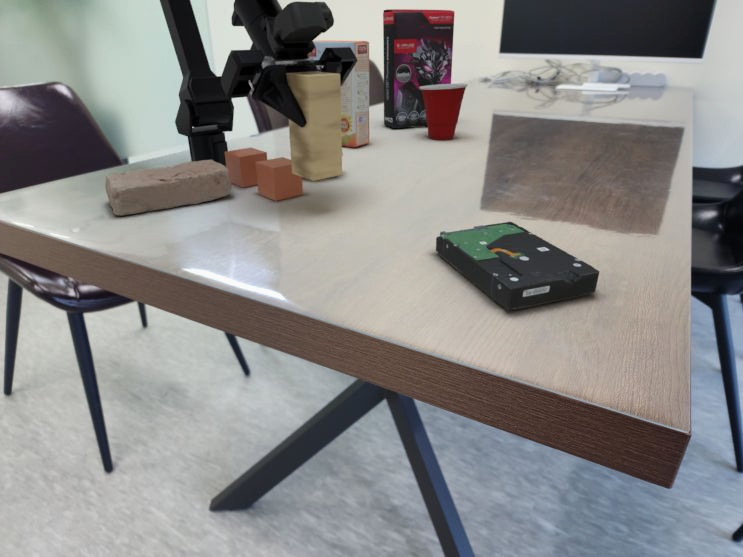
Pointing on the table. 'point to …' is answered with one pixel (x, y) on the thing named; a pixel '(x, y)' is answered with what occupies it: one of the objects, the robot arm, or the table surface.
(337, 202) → the table surface
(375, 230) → the table surface
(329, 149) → the maple block
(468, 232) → the disk drive
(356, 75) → the cracker box
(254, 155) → the cube far
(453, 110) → the plastic cup
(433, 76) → the graphics card box
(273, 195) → the cube mid
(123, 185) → the brick
